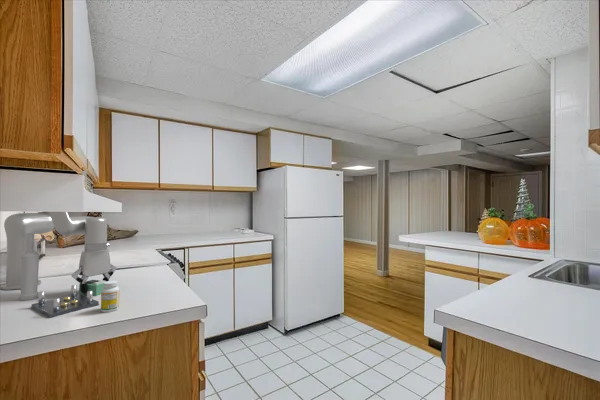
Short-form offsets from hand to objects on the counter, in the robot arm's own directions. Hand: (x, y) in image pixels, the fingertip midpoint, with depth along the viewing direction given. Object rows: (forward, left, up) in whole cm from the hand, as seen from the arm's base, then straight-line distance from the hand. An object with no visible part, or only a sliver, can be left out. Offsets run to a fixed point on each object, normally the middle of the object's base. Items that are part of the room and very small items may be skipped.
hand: (94, 290), depth 118 cm
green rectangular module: (0, 0, -1) cm, 1 cm away
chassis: (+9, -13, -1) cm, 16 cm away
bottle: (-12, -17, -1) cm, 21 cm away
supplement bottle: (+25, -6, -1) cm, 26 cm away
